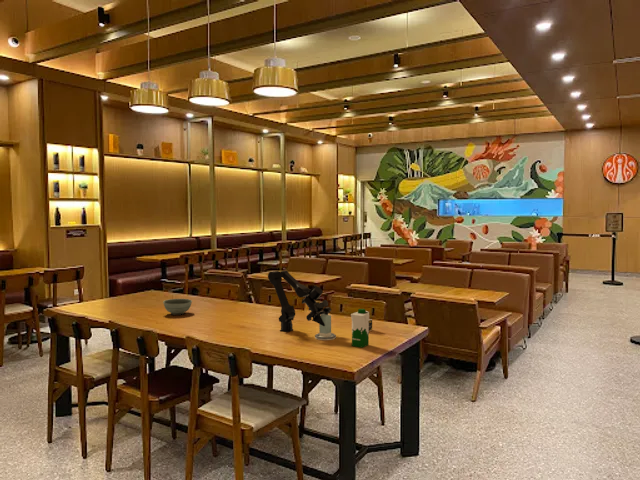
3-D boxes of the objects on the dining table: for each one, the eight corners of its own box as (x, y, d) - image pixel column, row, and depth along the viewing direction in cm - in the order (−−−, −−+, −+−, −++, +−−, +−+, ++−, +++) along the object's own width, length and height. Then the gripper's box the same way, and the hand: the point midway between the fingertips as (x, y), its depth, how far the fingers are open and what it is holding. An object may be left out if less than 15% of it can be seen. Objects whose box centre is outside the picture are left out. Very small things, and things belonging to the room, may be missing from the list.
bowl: (169, 311, 374) (168, 298, 373) (196, 311, 373) (195, 298, 373) (159, 317, 353) (158, 303, 353) (187, 316, 352) (187, 303, 352)
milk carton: (370, 344, 273) (370, 309, 272) (363, 348, 266) (362, 312, 265) (357, 342, 278) (356, 307, 277) (349, 346, 271) (348, 310, 270)
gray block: (319, 335, 290) (319, 315, 289) (324, 334, 294) (324, 314, 293) (326, 337, 287) (326, 316, 286) (331, 335, 291) (331, 315, 290)
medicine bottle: (363, 332, 302) (363, 313, 301) (356, 330, 308) (356, 311, 307) (372, 330, 306) (372, 311, 306) (364, 328, 312) (364, 309, 311)
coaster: (311, 338, 287) (311, 336, 287) (320, 334, 298) (320, 331, 298) (330, 341, 282) (330, 338, 282) (339, 336, 293) (339, 333, 293)
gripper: (310, 298, 284) (325, 319, 278) (328, 293, 299) (343, 313, 293) (299, 310, 289) (314, 331, 283) (318, 305, 304) (333, 325, 298)
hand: (327, 324), depth 289 cm, fingers closed on gray block, 5 cm apart
